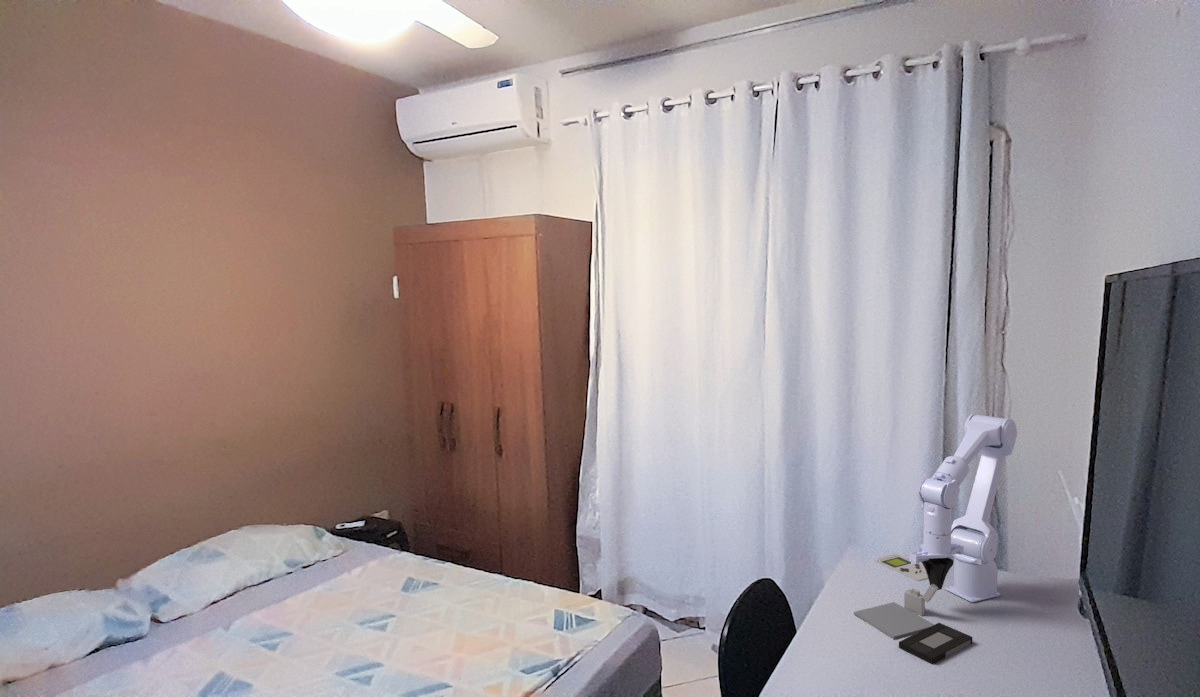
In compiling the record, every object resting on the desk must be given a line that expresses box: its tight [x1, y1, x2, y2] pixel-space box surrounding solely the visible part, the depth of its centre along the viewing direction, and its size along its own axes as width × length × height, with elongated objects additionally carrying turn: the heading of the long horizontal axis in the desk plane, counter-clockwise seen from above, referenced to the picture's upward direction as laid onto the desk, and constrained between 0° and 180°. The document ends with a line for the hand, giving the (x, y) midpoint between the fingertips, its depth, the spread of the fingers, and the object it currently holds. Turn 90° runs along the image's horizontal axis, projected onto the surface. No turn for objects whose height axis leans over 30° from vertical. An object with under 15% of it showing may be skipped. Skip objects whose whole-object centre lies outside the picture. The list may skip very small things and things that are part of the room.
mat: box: [853, 602, 935, 640], centre depth 151 cm, size 12×12×1 cm
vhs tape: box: [898, 622, 973, 665], centre depth 140 cm, size 8×14×2 cm, turn 121°
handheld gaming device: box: [873, 553, 929, 581], centre depth 179 cm, size 9×1×15 cm
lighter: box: [903, 584, 939, 617], centre depth 153 cm, size 7×2×8 cm, turn 39°
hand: (936, 587), depth 154 cm, fingers closed
